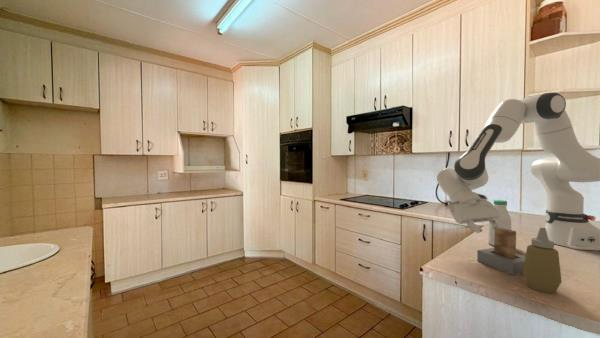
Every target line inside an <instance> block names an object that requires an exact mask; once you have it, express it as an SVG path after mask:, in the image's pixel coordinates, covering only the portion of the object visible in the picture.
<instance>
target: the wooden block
mask: <svg viewBox="0 0 600 338" xmlns="http://www.w3.org/2000/svg"><path fill="white" fill-rule="evenodd" d="M516 246H517V231H516V230H513V229H511V230H509V229H505V228H495V240H494V246H493V248H494V254H497V255H500V256H503V257H505V258H508V259H515V258H516V254H517V251H516V250H517V249H516V248H517V247H516Z"/></svg>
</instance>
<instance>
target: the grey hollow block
mask: <svg viewBox="0 0 600 338" xmlns="http://www.w3.org/2000/svg"><path fill="white" fill-rule="evenodd" d="M476 254H477V259H476V260H477V261H478V262H480V263H481V264H485V265H487V266H490V267H492V268H494V269H496V270H499V271H501V272H505V273H507V274H510V275H512V276H516V275H521V274H523V269H524V263H525V257H526V255H525V256H524V255H522V254H518V253H516V258H515V259H508V258H505V257H503V256H500V255H497V254H494V247H491V248H483V249H477V253H476Z"/></svg>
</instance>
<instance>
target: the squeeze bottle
mask: <svg viewBox="0 0 600 338" xmlns="http://www.w3.org/2000/svg"><path fill="white" fill-rule="evenodd" d="M554 247H555V244H554V242H553V241H550V240H549V239H548V235H547V231H546V228H545V227H539V230H538V233H537V235H536V237H532V238H531V244H529V245H527V246H526V252H525V263H524V269H523V273H522V274H523V277H524V280H525V282H526V284H527V286H528V287H530V288H531V289H533V290H535V291H538V292H542V293H547V294H554V293H556V292H557V291H558V289H559V287H560V286H561V284H562V274H561V265H560V264H561V263H560V256H559V254H560V253H559V251H558V250H557V249H555V248H554Z"/></svg>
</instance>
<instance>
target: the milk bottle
mask: <svg viewBox="0 0 600 338" xmlns="http://www.w3.org/2000/svg"><path fill="white" fill-rule="evenodd" d="M493 205H494V207H495V208H496V209H497V210H498V211H499V213H500V217H499V218H498V219H496V220H497V223H498V225H499V226H500V228H505V229H509V230H512V218H511V215H510V214H509V212H508V210H507V209H508V208H507V206H508V201H507V200H503V199H495V200H493ZM487 236H488V244H489V245H490V246H493V247H494V240H495V230H494V229H493V228H492V223H490V222H489V221H488V235H487Z"/></svg>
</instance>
